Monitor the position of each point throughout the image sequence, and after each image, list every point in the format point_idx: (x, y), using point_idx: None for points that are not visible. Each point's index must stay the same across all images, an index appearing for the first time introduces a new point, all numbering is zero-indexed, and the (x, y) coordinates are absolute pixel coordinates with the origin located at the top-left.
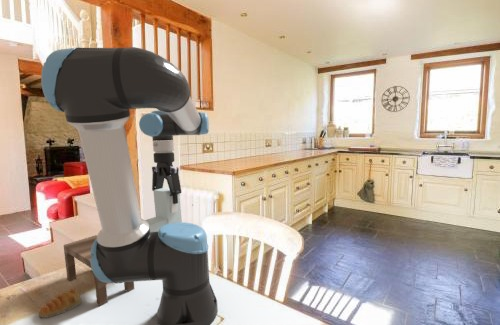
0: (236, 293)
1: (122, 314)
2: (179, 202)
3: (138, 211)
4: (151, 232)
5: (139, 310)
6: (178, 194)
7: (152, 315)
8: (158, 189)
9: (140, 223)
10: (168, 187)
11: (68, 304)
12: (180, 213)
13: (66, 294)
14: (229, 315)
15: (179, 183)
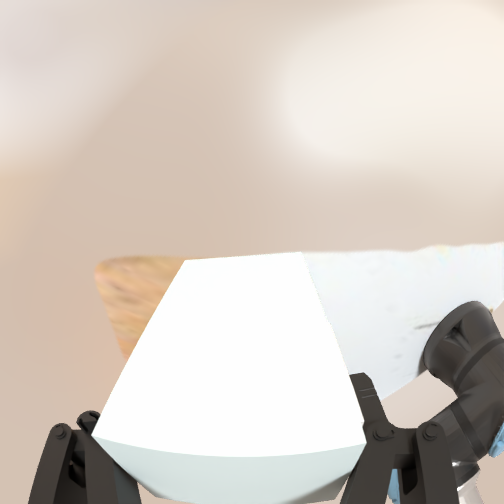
0: (493, 261)
1: (377, 395)
2: (329, 336)
3: (481, 499)
4: (475, 461)
5: (393, 380)
6: (348, 398)
7: (416, 371)
8: (165, 491)
9: (475, 484)
10: (129, 446)
11: None
12: (312, 285)
13: None
14: (496, 301)
15: (455, 501)
